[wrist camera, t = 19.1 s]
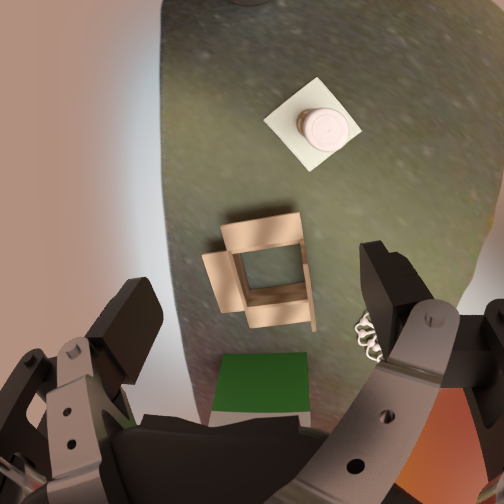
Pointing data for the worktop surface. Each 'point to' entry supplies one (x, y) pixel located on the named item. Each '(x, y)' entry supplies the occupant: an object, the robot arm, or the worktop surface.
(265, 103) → the worktop surface
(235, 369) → the hardback book
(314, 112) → the sprinkles bottle
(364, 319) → the tangled rod sculpture
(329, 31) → the worktop surface
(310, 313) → the carton
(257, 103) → the worktop surface
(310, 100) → the coaster
